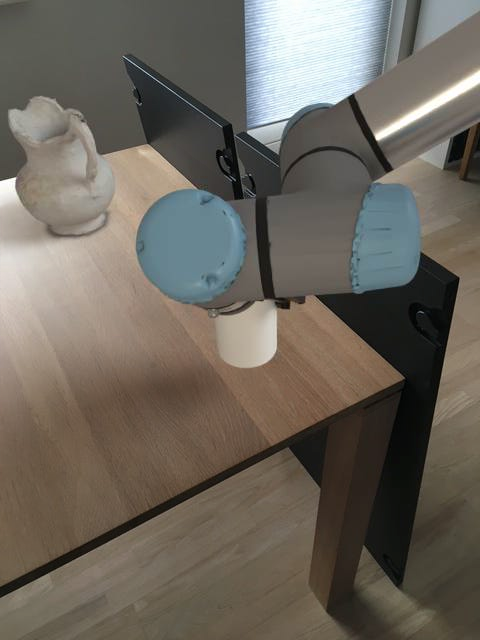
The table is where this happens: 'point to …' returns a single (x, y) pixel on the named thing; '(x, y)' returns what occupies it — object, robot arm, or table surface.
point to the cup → (248, 335)
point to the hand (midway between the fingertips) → (248, 296)
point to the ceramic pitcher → (61, 168)
